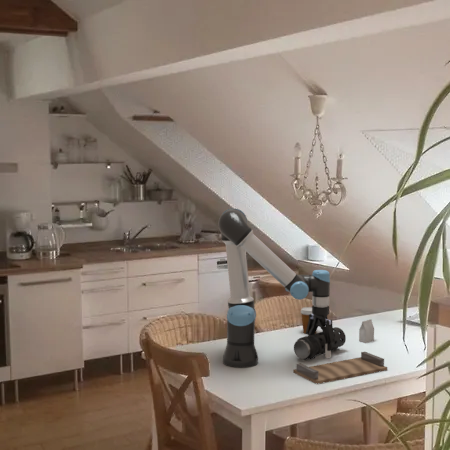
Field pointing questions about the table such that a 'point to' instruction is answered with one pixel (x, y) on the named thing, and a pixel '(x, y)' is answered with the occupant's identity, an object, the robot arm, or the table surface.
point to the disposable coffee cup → (305, 317)
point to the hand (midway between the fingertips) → (319, 354)
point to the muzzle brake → (317, 344)
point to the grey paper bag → (366, 331)
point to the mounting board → (341, 368)
